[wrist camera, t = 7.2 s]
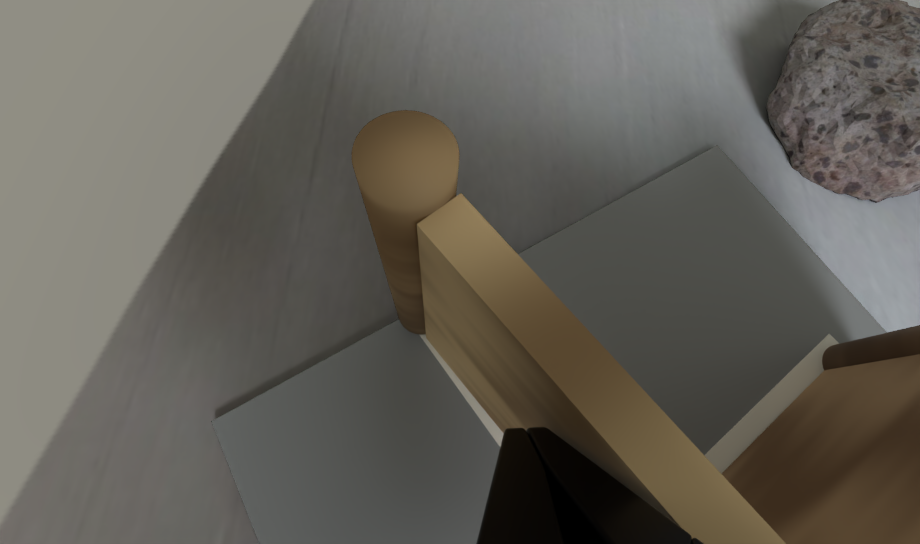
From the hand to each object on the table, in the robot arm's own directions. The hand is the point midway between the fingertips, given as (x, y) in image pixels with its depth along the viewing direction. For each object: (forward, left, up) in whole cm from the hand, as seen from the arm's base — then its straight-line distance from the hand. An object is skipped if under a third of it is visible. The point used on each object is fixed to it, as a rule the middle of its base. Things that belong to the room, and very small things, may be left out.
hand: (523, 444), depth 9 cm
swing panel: (+1, -1, -7) cm, 7 cm away
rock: (+3, -24, -8) cm, 25 cm away
